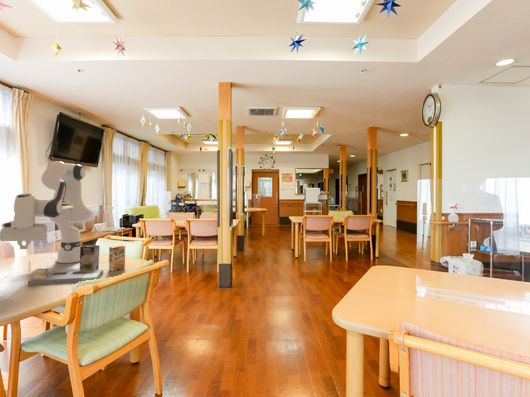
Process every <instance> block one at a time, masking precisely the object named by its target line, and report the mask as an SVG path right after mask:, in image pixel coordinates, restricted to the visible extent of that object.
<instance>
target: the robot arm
mask: <svg viewBox="0 0 530 397" xmlns="http://www.w3.org/2000/svg"><path fill="white" fill-rule="evenodd" d="M85 175H86V168H85V167H84V166H83V165H81V164H79V163H77V164H75V163H69V162H63V161H60V160H59V161H58V160H55V161H53V162H51V163H50V164H48V165H47V167H46V169H45V170H44V172H43V173H42V174H41V178H40V180H41V183H42V184H43V185H44V186H45V187H46V188H48V189H50V190H53V191H54V195H53V198H51V199H37V198H36V197H35V195H34V194H32V193H20V194H18V195H16V197H15V200H14V203H13V212H14V216H13V220H11V221H8V222H4V223H2V224H1V229H0V241H1V242H16V243H17V245H18V247H19V250H28V249H29V245H30V244H31V242H35V241H36V242H37V241H39V242H40V241H46V240H47V239H48V226H47V224H45V223H36V217H38V218H40V217H42V218H49V220H50V221H51V222H53V223H54V224H56V226H57V227H58V228H59V229H60V233H61V235H60V236H61V242H60V248H59V249H57V259H55V260H54V262H56V263H60V264H73V263H77V262H78V263H80V247H81V246H82V240H81V230H80V229H79V228H77V227H75V226H72V225H71V223H86V222H90V221H91V219H92V218H93V211H92V210H91V209H90V208H89V207H88V206H87V205H86V204H85V203H84V202H83V196H82V179H84V177H85ZM64 202H67V203H68V204H71V205H72V206H71V207H66V206H64V205H63V203H64ZM63 206H64V207H63ZM23 242H25V245H24V244H23Z"/></svg>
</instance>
